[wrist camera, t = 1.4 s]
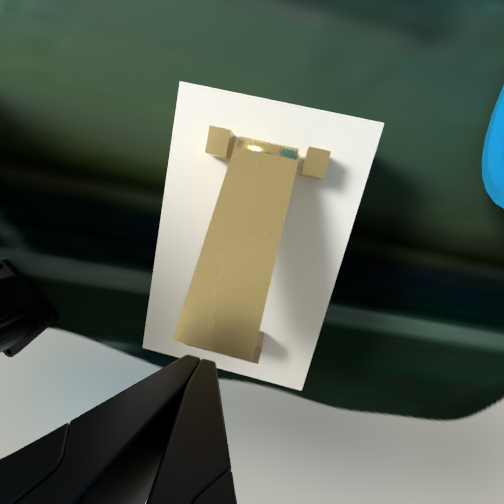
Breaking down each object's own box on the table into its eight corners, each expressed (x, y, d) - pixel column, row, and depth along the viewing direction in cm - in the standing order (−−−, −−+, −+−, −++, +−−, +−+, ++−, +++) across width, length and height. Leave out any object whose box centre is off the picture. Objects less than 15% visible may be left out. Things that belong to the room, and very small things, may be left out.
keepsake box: (206, 110, 18) (164, 62, 11) (357, 142, 17) (402, 110, 11) (173, 313, 21) (125, 364, 15) (298, 346, 21) (305, 414, 14)
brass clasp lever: (239, 145, 13) (238, 130, 12) (298, 158, 13) (302, 144, 12) (178, 339, 11) (171, 340, 10) (251, 359, 10) (252, 361, 9)
